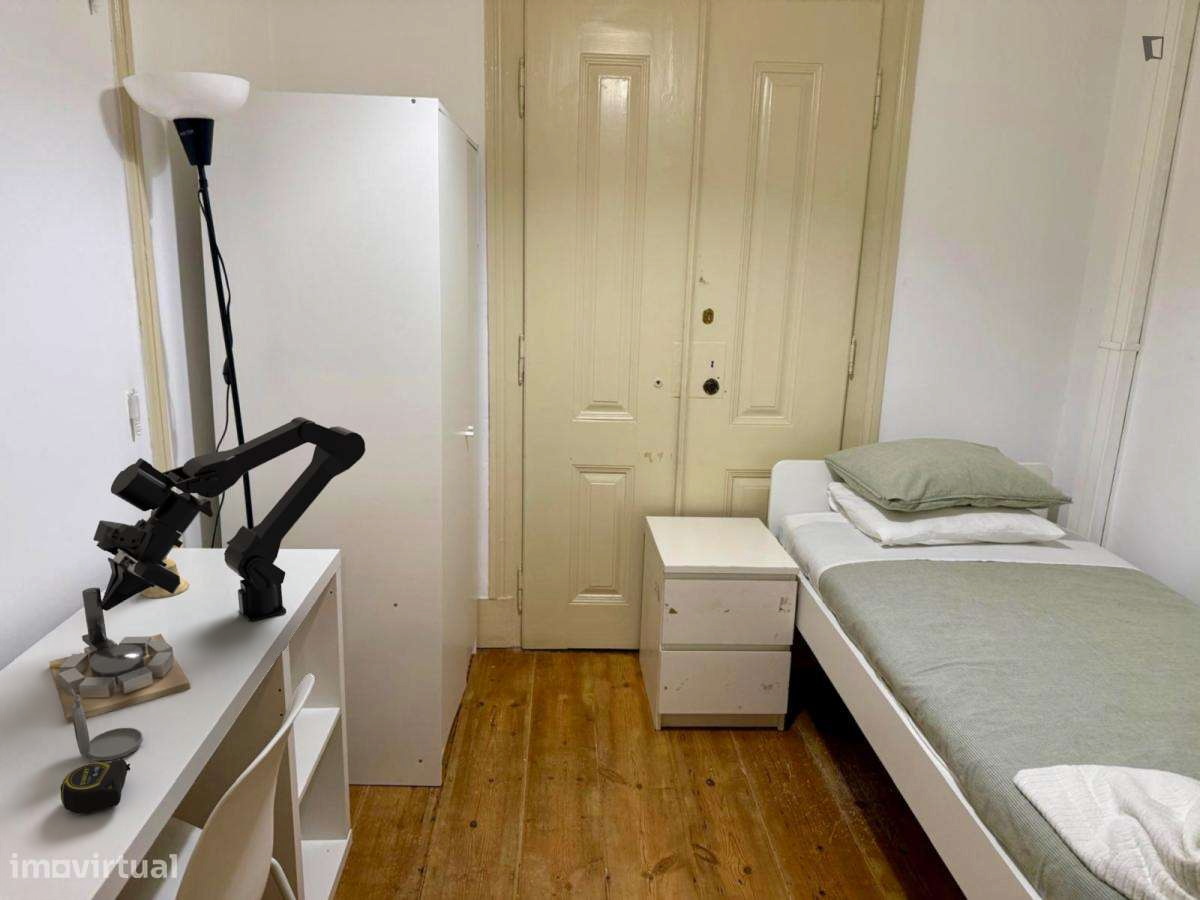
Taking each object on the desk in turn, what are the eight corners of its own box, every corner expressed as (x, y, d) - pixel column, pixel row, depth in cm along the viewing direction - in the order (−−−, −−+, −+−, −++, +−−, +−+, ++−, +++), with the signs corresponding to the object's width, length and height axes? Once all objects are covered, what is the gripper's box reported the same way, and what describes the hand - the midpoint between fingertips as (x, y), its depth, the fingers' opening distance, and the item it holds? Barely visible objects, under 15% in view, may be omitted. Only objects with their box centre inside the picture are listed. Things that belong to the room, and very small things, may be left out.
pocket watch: (154, 740, 117) (146, 674, 114) (101, 776, 109) (91, 706, 106) (108, 727, 119) (99, 663, 117) (53, 761, 111) (42, 693, 109)
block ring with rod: (140, 633, 143) (132, 571, 140) (189, 670, 132) (181, 603, 129) (40, 666, 132) (29, 599, 129) (84, 709, 121) (73, 637, 118)
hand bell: (175, 599, 159) (166, 518, 154) (131, 597, 159) (121, 516, 154) (197, 581, 167) (189, 503, 162) (155, 579, 167) (146, 502, 162)
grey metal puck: (139, 657, 136) (137, 640, 135) (148, 675, 131) (146, 658, 130) (88, 670, 132) (86, 652, 131) (96, 690, 126) (94, 671, 126)
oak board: (161, 639, 144) (160, 632, 143) (190, 688, 129) (189, 680, 129) (48, 667, 134) (47, 660, 134) (66, 723, 120) (64, 715, 119)
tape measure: (121, 814, 102) (117, 787, 101) (56, 825, 100) (51, 797, 99) (132, 779, 109) (129, 754, 108) (71, 788, 107) (67, 762, 106)
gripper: (102, 487, 140) (36, 569, 135) (149, 515, 128) (79, 607, 123) (157, 520, 148) (97, 598, 143) (207, 549, 136) (143, 636, 131)
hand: (103, 609), depth 135 cm, fingers closed, pressing on block ring with rod
